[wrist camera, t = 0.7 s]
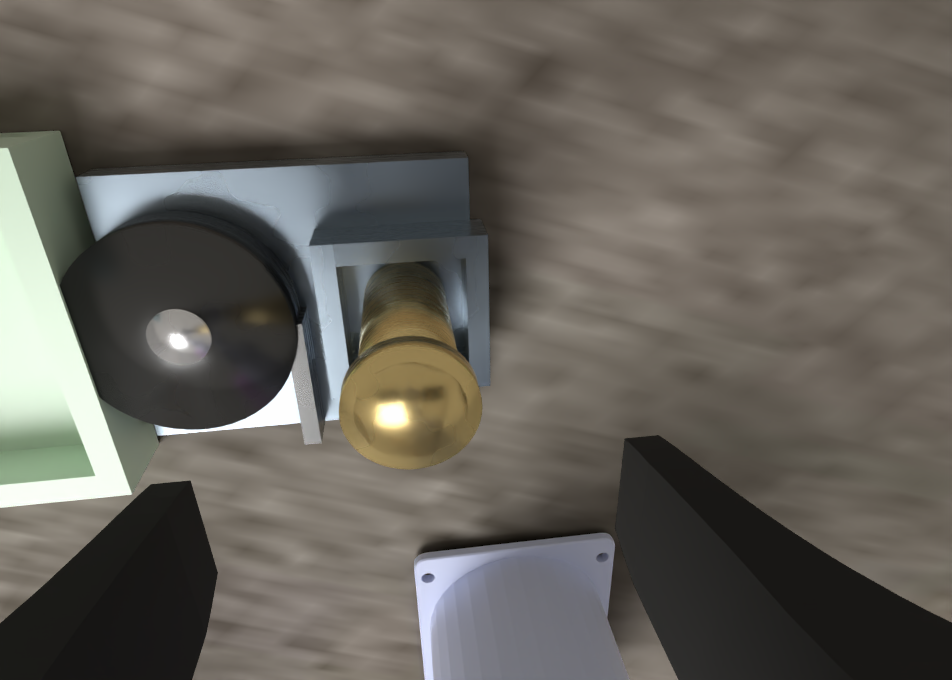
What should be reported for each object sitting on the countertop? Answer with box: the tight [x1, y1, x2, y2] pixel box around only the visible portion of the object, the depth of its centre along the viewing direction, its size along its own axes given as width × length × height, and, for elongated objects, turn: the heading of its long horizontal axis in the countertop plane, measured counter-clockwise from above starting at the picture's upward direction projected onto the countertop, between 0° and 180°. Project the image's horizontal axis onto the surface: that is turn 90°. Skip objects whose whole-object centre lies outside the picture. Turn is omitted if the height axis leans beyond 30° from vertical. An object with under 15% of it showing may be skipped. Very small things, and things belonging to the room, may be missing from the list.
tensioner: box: [60, 151, 490, 445], centre depth 18 cm, size 8×12×2 cm
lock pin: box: [339, 262, 482, 469], centre depth 16 cm, size 3×3×6 cm
